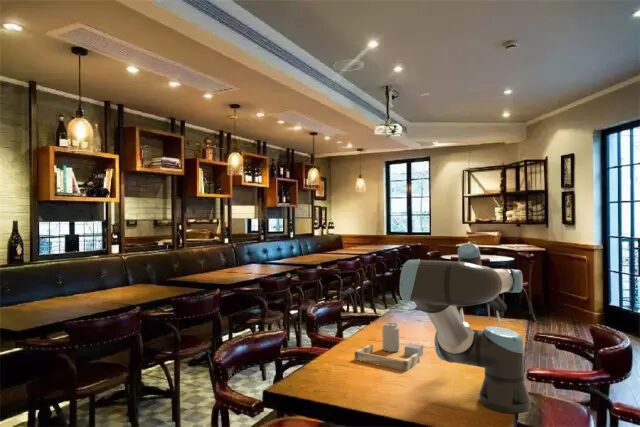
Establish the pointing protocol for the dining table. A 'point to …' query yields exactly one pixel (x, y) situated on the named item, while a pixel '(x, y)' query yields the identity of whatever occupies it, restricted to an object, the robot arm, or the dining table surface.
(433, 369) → the dining table surface
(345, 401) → the dining table surface
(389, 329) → the can
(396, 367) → the tray
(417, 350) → the pale grey square block
